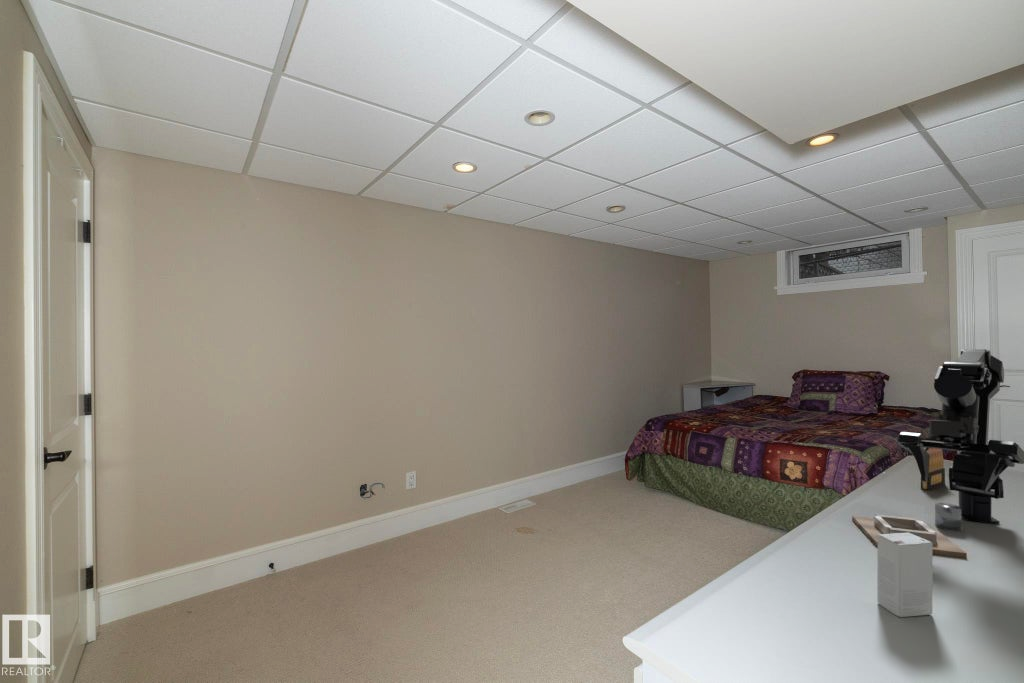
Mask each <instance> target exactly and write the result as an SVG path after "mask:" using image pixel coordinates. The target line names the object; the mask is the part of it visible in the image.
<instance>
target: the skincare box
mask: <svg viewBox="0 0 1024 683" xmlns="http://www.w3.org/2000/svg"><path fill="white" fill-rule="evenodd" d="M932 551H933V544H932V542H930V541H928V540H925V539H923V538H921V537H918V536H916V535H914V534H911V533H894V534H878V547H877V577H876V578H877V581H876V582H877V588H876V589H877V597H876V598H877V600H876V601H877V604H879V605H880V606H882V607H883V608H884V609H886V610H887V611H888V612H890V613H892V614H894V615H895V616H897V617H898V618H906V617H916V616H918V617H919V616H928V615H933V554H932Z"/></svg>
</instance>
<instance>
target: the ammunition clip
mask: <svg viewBox="0 0 1024 683" xmlns="http://www.w3.org/2000/svg"><path fill="white" fill-rule="evenodd" d="M926 452H927V453H928V454H929V455H930V459H929V474H928V480H927V482H924V481H923V480H922V477H921V476H920V489H921V490H925V491H928V490H929V491H932V490H935V489H937V487H938V488H941V487H943V486H942V485H944V486H945V485H946V468H945V467H944V454H943V453H944V452H943V449H935V448H929V450H927V451H926ZM940 486H941V487H940ZM934 488H935V489H934Z"/></svg>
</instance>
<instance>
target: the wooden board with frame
mask: <svg viewBox="0 0 1024 683" xmlns="http://www.w3.org/2000/svg"><path fill="white" fill-rule="evenodd" d="M851 517H852V518H851V520H852V521H853V523H854V524H855V525H856V526H857V527H858V528H859V529H860V530H861V531H862V533H864V535H865V536H866V537H867V539H869V541H870V542H872V544H873V545H874V546H875V547H877V548H878V534H894V533H911V534H914V535H916V536H918V537H921V538H923V539H925V540H928V541H930V542H932V544H933V551H932V555H939V556H946V557H954V558H955V557H956V558H963V559H967V558H968V557H967V552H966V551H964V550H963V549H962V548H960V547H959V546H958V545H957V544H956V543H954V542H953V541H952V540H950V539H949V538H948V537H947V536H945V535H944V534H943V533H941V532H940V531H939V530H937V529H936V528H935V527H933V526H932V525H931V524H930V523H925V522H924V521H922V520H918V519H917V518H913V517H912V518H911V517H903V516H895V515H885V514H878V513H877V514H874V517H865V516H857V515H852V516H851Z"/></svg>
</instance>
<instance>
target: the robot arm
mask: <svg viewBox="0 0 1024 683" xmlns="http://www.w3.org/2000/svg"><path fill="white" fill-rule="evenodd" d="M933 381H934V382H933V388H934V391H935V393H936V394H937V397H938V398H939V400H940V402H941V412H940V414H938V419H929V421H928V422H929V435H931V436H933V437H934V438H935V439H930V438H926V437H925V436H924V435H923V434H921V433H919V432H918V433H917V432H908V431H901V432H900V433H899V434H897V438H896V443H897V444H898V445H899V446H900V447H901V448H903V449H904V450H905V451H908V452H909V453H910V454H912V455H913V457H914V459H915V461H916V464H917V467H918V470H919V473H920V478H921V477H922V480H923V481H924V482H927V480H928V474H929V459H930V455H929V454H928V453H927V452H926V451H927V450H929V448H935V449H942V450H945V451H952V452H959V453H956V454H955V455H954V457H953V459H952V465H949V468H948V481H949V482H948V483H949V484H948V485H949V491H955V492H958V506H959V507H961V514H962V519H963V520H964V521H972V522H979V523H980V522H981V523H989V524H1000V523H1001V522H1000V521H999V520H998V519H997V518H994V517H993V516H992V513H993V512H992V499H995V500H999V499H1004V498H1005V497H1004V496H1005V495H1004V494H1005V493H1004V491H1005V490H1004V480H1003V479H1002V478H1001V477H1000V475H1001V474H1003V472H1004V471H1005V470H1006V469H1008V468H1011V467H1012V468H1014V467H1015V465H1016V464H1020V465H1024V450H1023V449H1022V447H1021V446H1020V445H1018V444H1017V443H1016V441H1007V440H997V439H996V440H995V439H989V428H990V408H991V406H990V405H991V399H993V397H995V395H996V394H998V393H999V392H1000V388H1001V383H1002V384H1003V383H1004V382H1005V369H1004V364H1003V361H1002V360H1001V359H998V358H996V356H993V355H992V354H991V349H987V348H964V349H961V350H960V356H959V357H958V358H957V359H956V360H947V361H944V362H943V363H942V365H941V366H938V369H937V372H936V374H935V377H934V380H933ZM937 438H938V439H937Z"/></svg>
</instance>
